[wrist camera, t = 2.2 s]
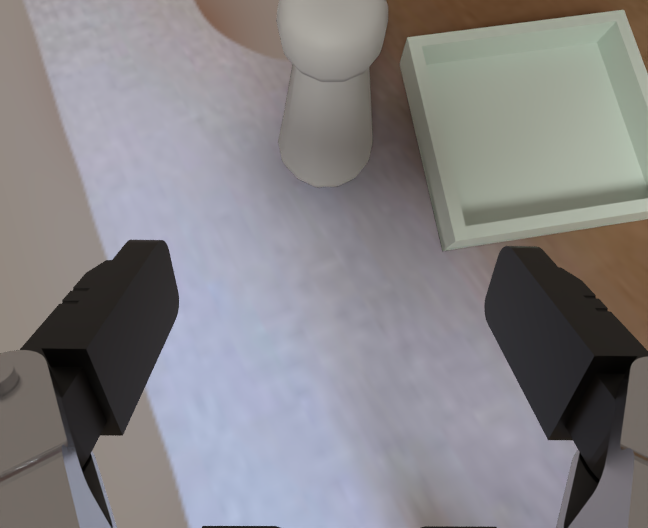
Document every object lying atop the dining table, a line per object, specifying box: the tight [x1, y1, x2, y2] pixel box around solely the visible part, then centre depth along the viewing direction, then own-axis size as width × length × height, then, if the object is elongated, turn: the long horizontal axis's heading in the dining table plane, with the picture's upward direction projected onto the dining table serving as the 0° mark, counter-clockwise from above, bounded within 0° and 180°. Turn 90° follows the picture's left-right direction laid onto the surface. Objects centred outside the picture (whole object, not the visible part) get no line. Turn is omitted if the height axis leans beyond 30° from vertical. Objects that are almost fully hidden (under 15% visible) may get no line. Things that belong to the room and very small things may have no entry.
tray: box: [400, 10, 648, 251], centre depth 27 cm, size 15×14×2 cm
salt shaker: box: [276, 0, 388, 188], centre depth 21 cm, size 6×6×13 cm
